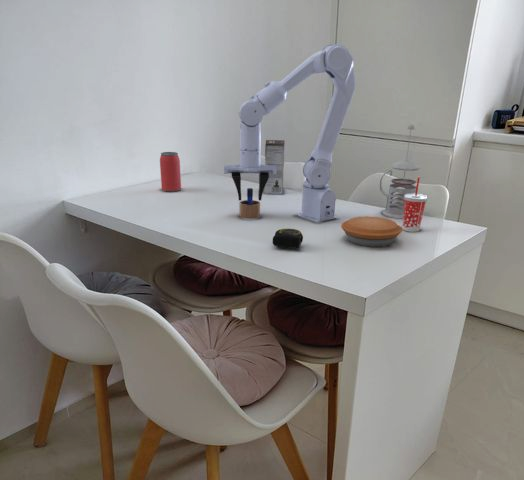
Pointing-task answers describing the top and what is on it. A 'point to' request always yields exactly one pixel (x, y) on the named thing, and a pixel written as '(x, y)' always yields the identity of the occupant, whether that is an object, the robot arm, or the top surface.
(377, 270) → the top surface
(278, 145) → the coffee box
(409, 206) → the beverage cup
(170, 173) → the beer can
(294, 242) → the tape measure
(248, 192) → the marker
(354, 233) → the pie
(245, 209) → the brown wooden bowl
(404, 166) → the french press
